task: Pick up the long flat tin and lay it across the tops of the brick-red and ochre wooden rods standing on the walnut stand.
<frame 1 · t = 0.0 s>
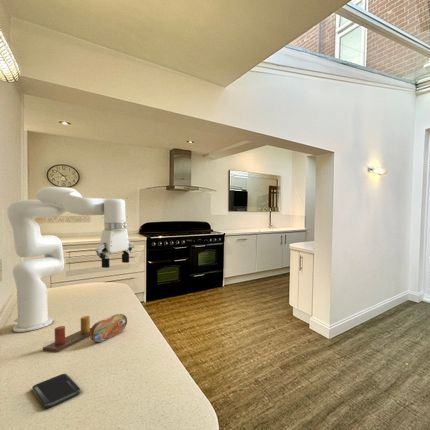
hand: (116, 264, 117), 31 cm above the countertop, tool pointing down, fingers open, 9 cm apart
rod stand: (73, 340, 112), on the countertop
phone: (56, 391, 82), on the countertop
tin: (109, 337, 116), on the countertop
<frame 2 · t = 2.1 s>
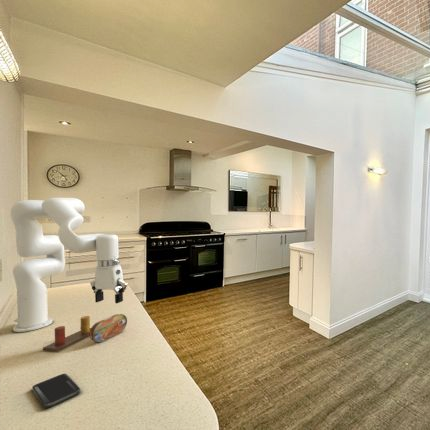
hand: (109, 301, 115), 16 cm above the countertop, tool pointing down, fingers open, 9 cm apart
nothing on the countertop moved.
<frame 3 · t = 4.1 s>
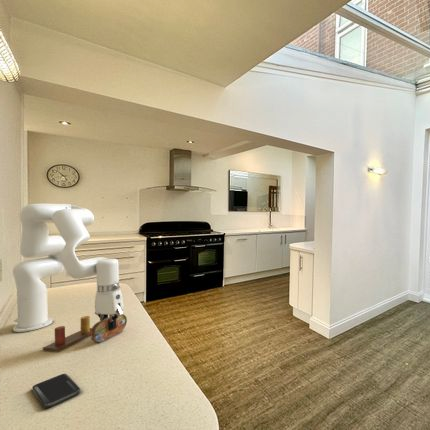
hand: (109, 328, 115), 4 cm above the countertop, tool pointing down, fingers closed on tin, 2 cm apart
tin: (108, 336, 116), on the countertop, touching gripper
everything else where it was.
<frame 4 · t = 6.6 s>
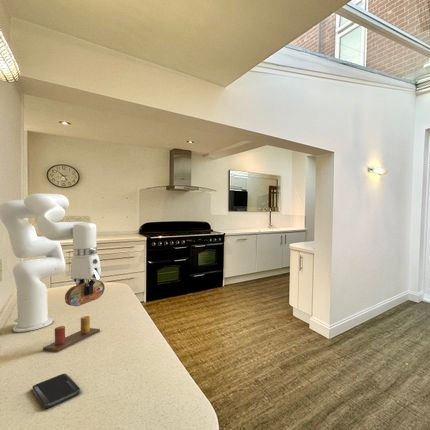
hand: (85, 294, 113), 20 cm above the countertop, tool pointing down, fingers closed on tin, 2 cm apart
tin: (85, 302, 113), point 16 cm above the countertop, touching gripper
everything else where it was.
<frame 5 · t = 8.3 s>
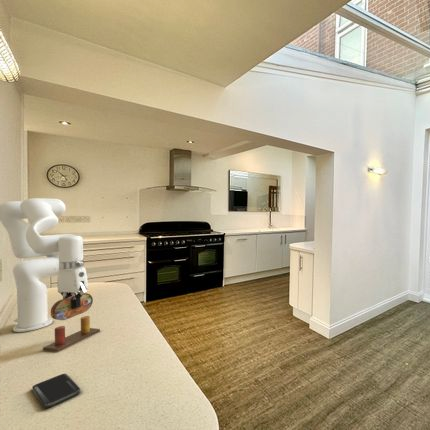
hand: (72, 307, 112), 14 cm above the countertop, tool pointing down, fingers closed on tin, 2 cm apart
tin: (72, 316, 112), point 10 cm above the countertop, touching gripper
everything else where it was.
when the fingers open (11 cm above the countertop, at t = 9.2 s): tin stays where it is, resting on rod stand.
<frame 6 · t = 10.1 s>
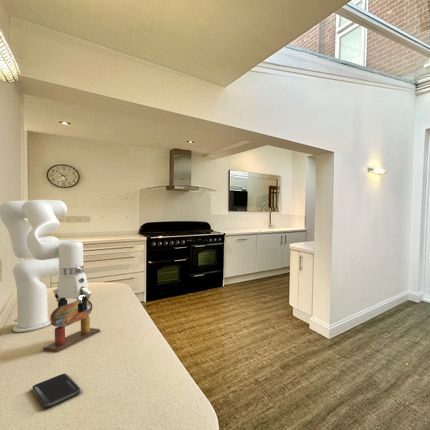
hand: (72, 310, 112), 13 cm above the countertop, tool pointing down, fingers open, 9 cm apart
tin: (72, 322, 112), point 8 cm above the countertop, touching rod stand
everything else where it was.
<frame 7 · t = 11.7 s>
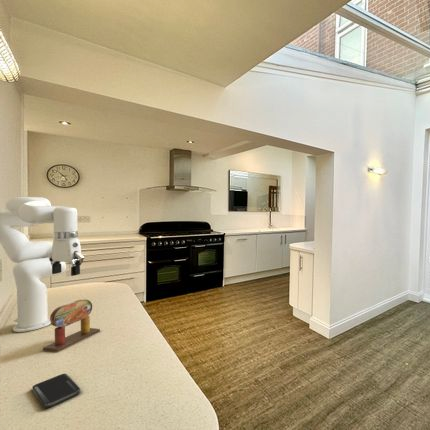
hand: (66, 274, 116), 27 cm above the countertop, tool pointing down, fingers open, 9 cm apart
nothing on the countertop moved.
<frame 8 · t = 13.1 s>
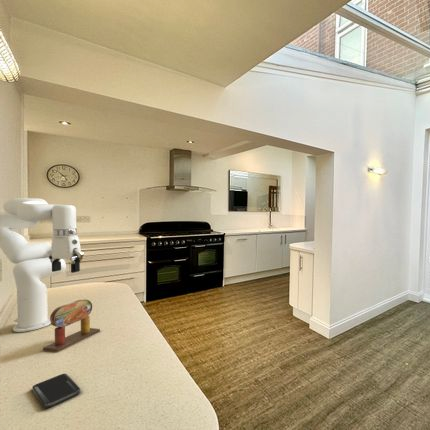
hand: (66, 271, 116), 28 cm above the countertop, tool pointing down, fingers open, 9 cm apart
nothing on the countertop moved.
at the end: tin 0.3 cm off-centre on the rod stand, point 7.6 cm above the rod stand's base; tin tilted 0°; tin touching rod stand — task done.
